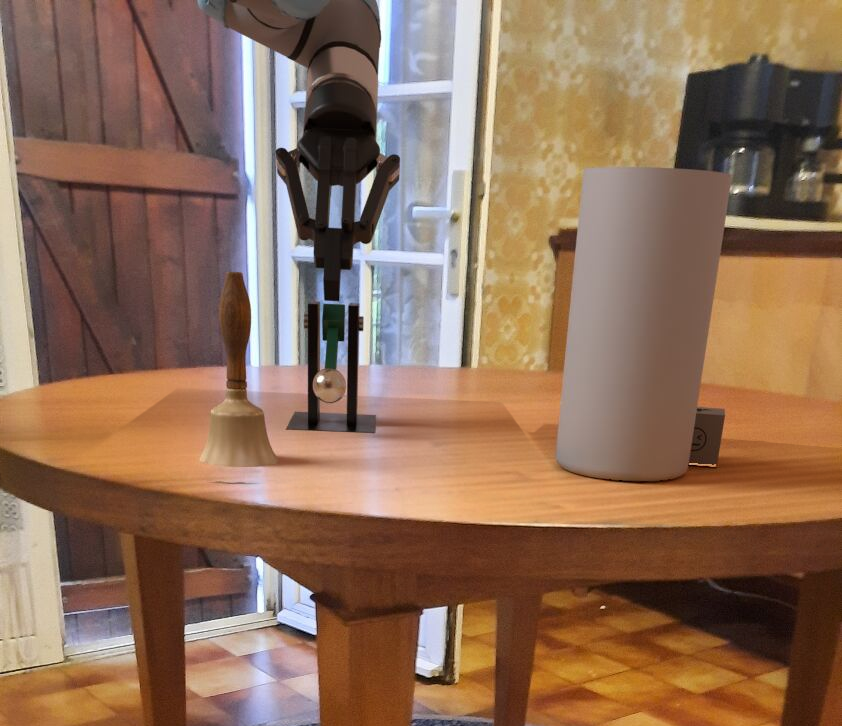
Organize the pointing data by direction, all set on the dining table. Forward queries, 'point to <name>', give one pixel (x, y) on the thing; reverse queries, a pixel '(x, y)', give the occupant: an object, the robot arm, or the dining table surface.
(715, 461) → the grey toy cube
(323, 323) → the lever
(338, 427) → the bracket
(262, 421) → the hand bell
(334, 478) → the dining table surface
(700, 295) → the cylinder vase
